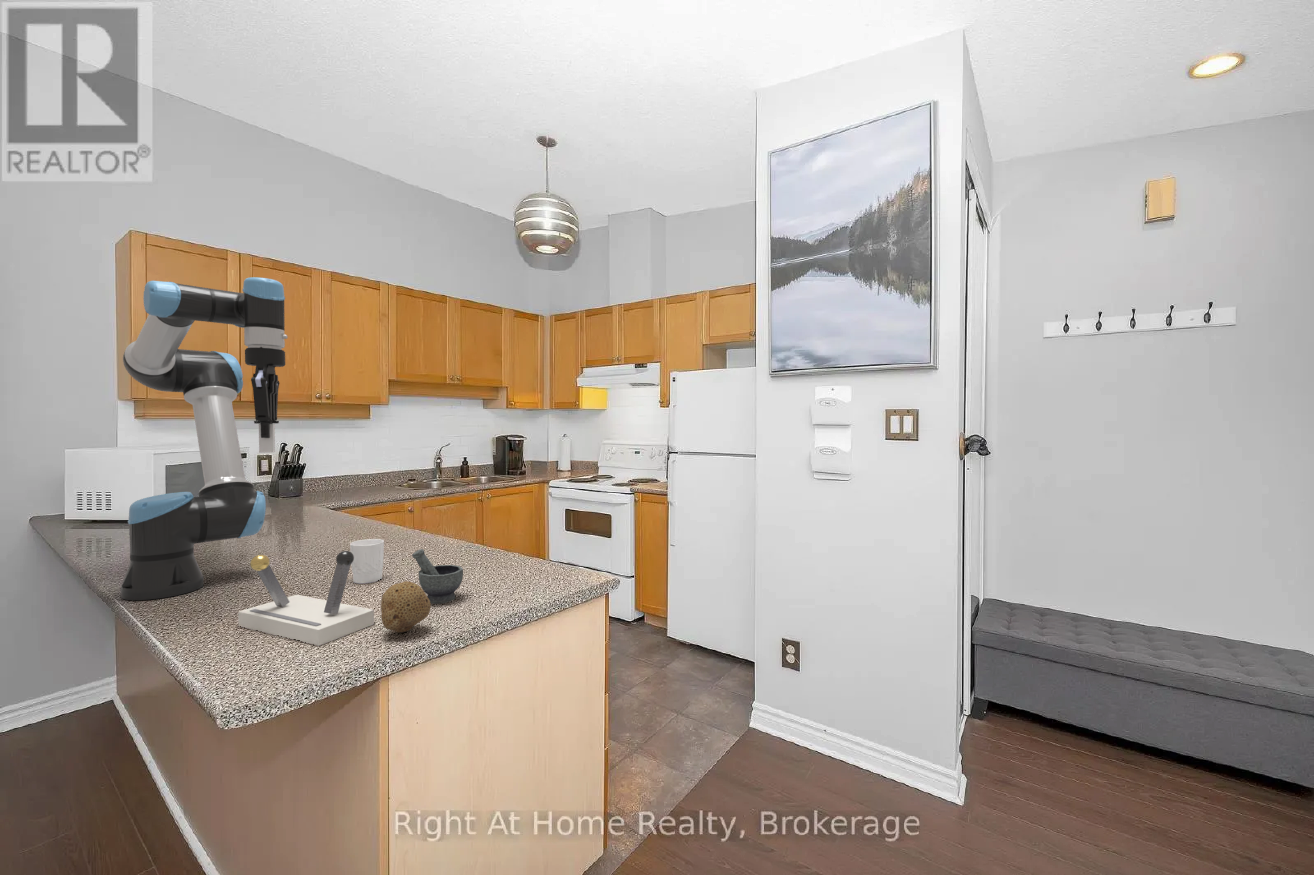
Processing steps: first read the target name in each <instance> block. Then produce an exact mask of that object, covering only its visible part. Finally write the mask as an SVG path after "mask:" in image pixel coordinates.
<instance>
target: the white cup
mask: <svg viewBox="0 0 1314 875" xmlns="http://www.w3.org/2000/svg"><path fill="white" fill-rule="evenodd" d="M384 547H385V540H384V539H380V538H368V539H359V540H354V541H352V542H350V543H349V548H350V550H349V551H350V552H351V553H352V554H353V555H354V561H353V562H352V564H351V565H350V567H351V572H352V582H353V583H355V584H362V585H363V584H370V583H371V584H372V583H376V582H379V581H381V580H382V579H383V568H384V553H385V548H384ZM380 579H381V580H380ZM378 580H379V581H378Z"/></svg>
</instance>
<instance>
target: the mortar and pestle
mask: <svg viewBox="0 0 1314 875" xmlns="http://www.w3.org/2000/svg"><path fill="white" fill-rule="evenodd" d="M411 556H412V558H413V559H415V561H416V563H417V565H418V566H419V569H420V570H418V580H419V585H420V587H421V588H422V589H423V591H424V592H425V594H426V595H427V597H428V599H429V600H430V603H431V604H434V605H435V604H446V603H450V602H452V601H454V600H455V599H456V593H455V592H456V591H457V590H458V589H459V588H460V586H461V584H462V582H463V579H464V578H463V577H464V569H463V567H462V566H460V565H454V564H438V565H433V564H432V562H431V560H430V559H429V558H428V556H427V555H426V553H425V550H424V549H423V548H420V549H417V550H416V551H415V552H413V553H412V554H411Z"/></svg>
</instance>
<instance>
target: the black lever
mask: <svg viewBox="0 0 1314 875" xmlns="http://www.w3.org/2000/svg"><path fill="white" fill-rule="evenodd" d="M335 561H336V565H335V569H334V572H333V577H332V581H331V583H330V588H329V591H328V595H327V598H326V600H327V602H326V606H325V610H324V612H325V613H329V614H338V611H339V607H340V603H342V599H343V595H344V593H345V591H344V590H345V588H346V584H347V580H348V575H349V572H350V568H351V564H352V562H353V561H354V555H353V554H352V553H351V551H350V550H342V551H340V552H339V553H337V555H336V558H335Z"/></svg>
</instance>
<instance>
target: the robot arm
mask: <svg viewBox="0 0 1314 875" xmlns="http://www.w3.org/2000/svg"><path fill="white" fill-rule="evenodd" d="M284 288H285V287H284V285H283V283H281V282H280V281H278V280H277V279H272V278H267V277H256V276H255V277H247V278H245V279H244V280H243V288H242V292H237V291H230V290H223V289H215V288H208V287H203V286H202V287H201V286H197V285H190V284H189V285H188V284H182V283H175V282H174V281H161V280H150V281H147V282H146V284H144V290H143V297H142V298H143V308H144V310H145V312H146V314H148V315H147V317H146V320H145V322H144V324H143V326H142V328H141V329H140V332H139V334H138V335H137V338H136V340H135V341H132V342H130V343H129V344H128V345H127V346H126V348H125V350H124V351H123V352H124V353H123V354H122V355H123V356H122V362H123V366H124V368H125V370H126V371H127V373H128V375H130V376H131V378H133V379H134V380H135V381H137V382H138V383H140V384H141V385H143V386H145V387H147V388H149V389H153V390H156V391H160V392H166V393H167V392H168V393H169V392H170V393H182V395H183V399H184V401H185V402H186V403H188V404H190V405H192V409H193V417H194V423H195V429H196V436H197V443H198V449H199V456H200V461H201V462H200V463H201V467H202V474H203V476H202V477H203V480H204V486H202V487H201V489H199V491H198V496H194V494H193V493H192V492H191V491H179V492H168V493H162V494H158V495H157V494H156V495H152V496H148V497H144V498H141V499H138V500H135V501H134V502H132V504H131V505H130V507H129V510H128V520H127V524H128V528H129V530H128V531H129V565H128V568H127V571H126V573H125V576H124V577H123V578H124V579H123V581H122V584H121V586H120V598H121V599H122V600H128V601H147V600H157V599H164V598H171V597H175V596H180V595H183V594H187V593H191V592H194V591H196V590H198V589H201V588H203V587H204V583H205V582H204V581H205V580H204V574H203V572H202V570H201V568H200V566H199V564H198V561H197V559H196V556H195V550H194V549H195V548H194V546H195V545H196V544H201V543H207V542H208V543H209V542H216V541H224V540H230V539H231V540H232V539H241V538H243V537H250V536H254V535H256V534H258V533H259V532H260V531H261V530H262V527H263V525H264V523H265V517H266V510H267V505H266V496H265V495H264V492H263V491H259V490H256V491H255V486H254V483H252V482H251V481H249V480H247V478H246V476H245V470H244V464H243V459H242V458H243V457H242V452H241V447H240V442H239V435H238V430H237V424H236V419H235V413H234V409H233V408H234V407H233V402H234V401H235V400H236V399H237V397H238V394H239V393H240V392H242V390H243V387H244V381H243V380H244V379H243V377H244V375H243V370H242V367H241V365H240V363H239V361H238V359H237V358H236V356H234V355H232V354H230V353H228V352H227V353H226V352H220V351H216V350H211V351H206V350H195V349H183V348H181V349H180V348H179V347H180V346H181V344H182V343H183V341H184V339H185V337H186V336H187V334H188V332H189V331H190V329H191V327H192V325H193V324H194V322H195V321H196V322H197V321H198V322H206V323H214V324H215V323H216V324H224V325H225V324H226V325H233V326H236V327H237V328H242V329H244V330H243V331H244V332H243V333H244V336H243V338H244V341H243V342H244V345H245V346H246V348H245V349H244V362H245V364H246V365H247V366H253V367H255V370H254V373H253V374H252V377H251V378H250V382H251V385H252V386H251V387H252V395H253V406H254V416H255V417H254V419H255V420H253V423H254V424H258V452H259V453H267V454H268V453H275V452H276V436H275V434H276V432H275V429H276V428H275V427H276V426H275V424H280V422H279V421H280V420H278V407H279V405H278V402H279V401H278V400H279V389H280V381H279V376H278V374H276V368H283V367H285V365H286V351H285V350H283V349H284V348H285V345H286V341H285V340H287V339H288V337H289V336H288V335H287V334H285V330H286V329H285V326H286V324H285V322H286V321H285V318H286V317H285V300H286V296H285V290H284Z"/></svg>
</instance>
